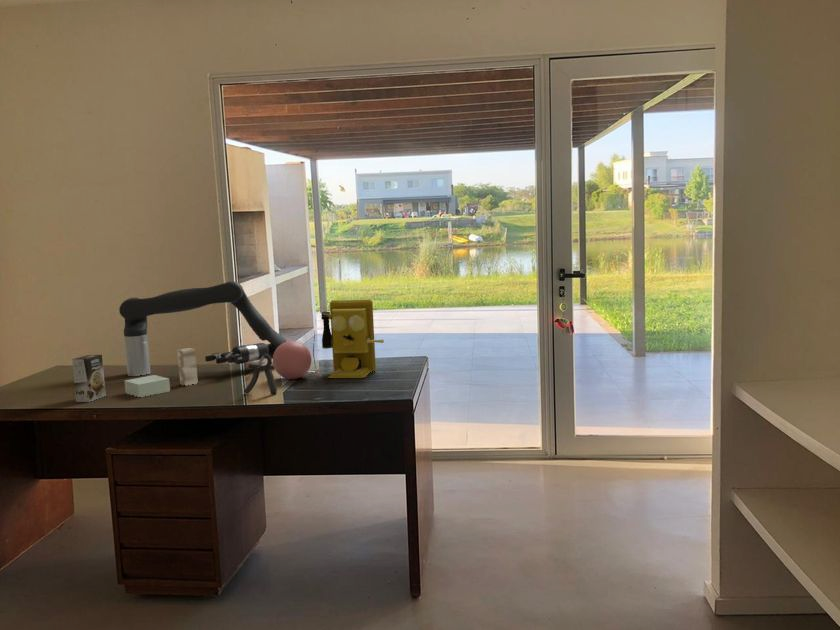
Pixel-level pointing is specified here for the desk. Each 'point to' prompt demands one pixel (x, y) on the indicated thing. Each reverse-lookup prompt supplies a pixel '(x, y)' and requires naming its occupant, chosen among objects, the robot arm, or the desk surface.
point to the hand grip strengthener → (267, 372)
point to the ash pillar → (187, 366)
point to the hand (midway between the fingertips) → (211, 360)
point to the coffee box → (88, 378)
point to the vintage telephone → (350, 338)
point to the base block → (147, 386)
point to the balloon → (292, 360)
